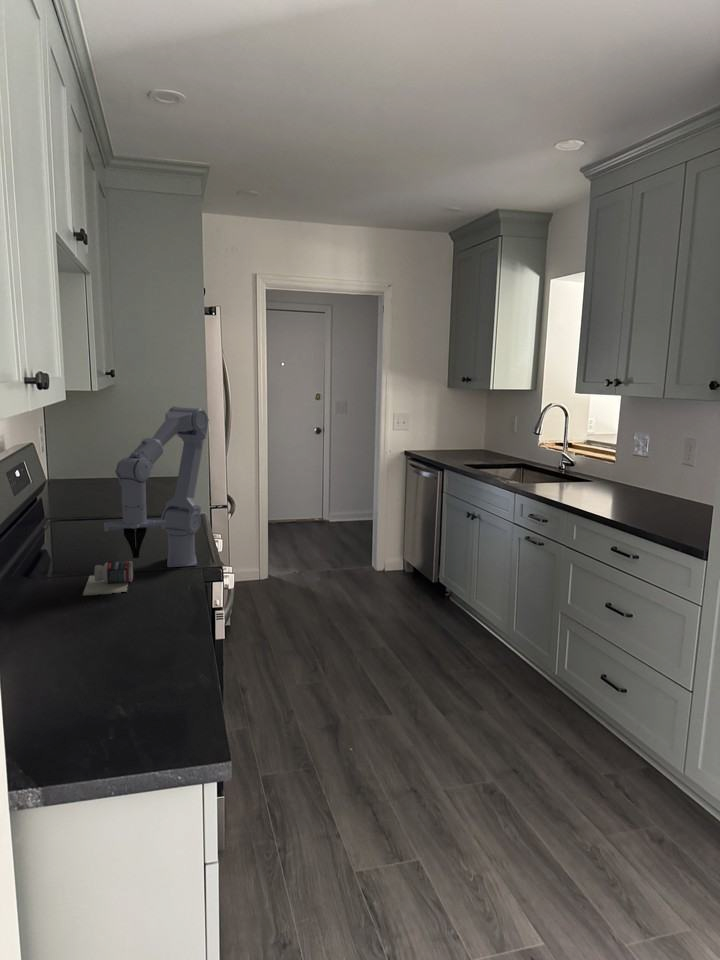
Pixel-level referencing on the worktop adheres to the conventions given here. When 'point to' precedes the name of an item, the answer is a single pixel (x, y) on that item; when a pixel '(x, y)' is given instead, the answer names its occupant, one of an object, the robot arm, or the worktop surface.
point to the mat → (103, 587)
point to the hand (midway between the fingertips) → (136, 557)
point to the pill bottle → (114, 572)
